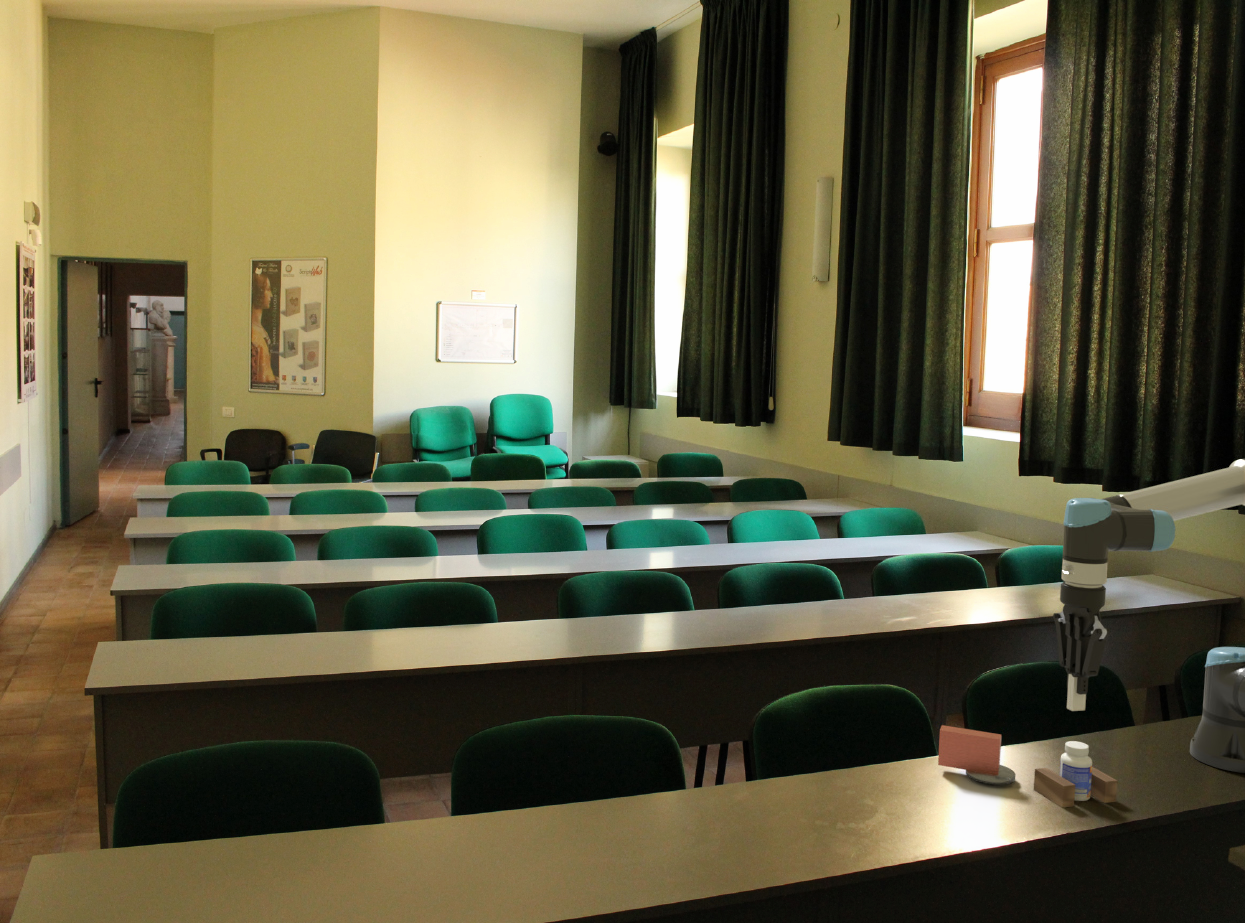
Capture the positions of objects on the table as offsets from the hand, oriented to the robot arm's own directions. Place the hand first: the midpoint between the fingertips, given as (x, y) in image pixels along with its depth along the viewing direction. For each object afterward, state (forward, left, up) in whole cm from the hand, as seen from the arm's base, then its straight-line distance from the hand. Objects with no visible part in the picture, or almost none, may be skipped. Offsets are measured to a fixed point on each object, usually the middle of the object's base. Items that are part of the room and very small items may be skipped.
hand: (1075, 708), depth 190 cm
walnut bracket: (0, +1, -16) cm, 16 cm away
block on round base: (+13, -11, -15) cm, 23 cm away
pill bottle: (0, +1, -17) cm, 17 cm away
